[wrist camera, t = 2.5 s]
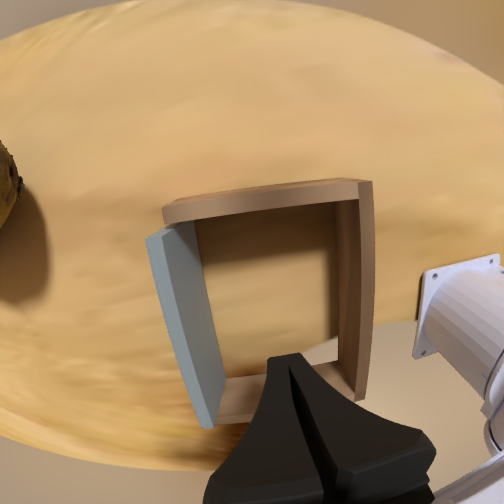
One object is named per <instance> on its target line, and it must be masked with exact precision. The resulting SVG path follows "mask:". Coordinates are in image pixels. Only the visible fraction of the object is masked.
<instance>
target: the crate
mask: <svg viewBox="0 0 504 504" xmlns="http://www.w3.org/2000/svg"><path fill="white" fill-rule="evenodd" d="M332 201H334V214H335V229H336V246H337V269H338V360H337V361H332V362H328V363H323V364H318V365H313V366H312V367H313V368H314V370H315V371H316V372H317V373H318V374H319V375H320V376H321V377H323V378H324V379H325V380H326V381H327V382H328V383H329V384H330V385H331V386H332V387H334V388H335V389H336V390H337V391H338V392H340V393H341V394H342V395H344V396H345V397H346V398H348V399H349V400H351V401H352V402H356V401H360V400H363V399H365V394H366V387H367V379H368V371H369V363H370V352H371V342H372V330H373V315H374V294H375V223H374V201H373V186H372V181H368V180H359V179H350V178H335V179H324V180H313V181H303V182H294V183H285V184H276V185H268V186H260V187H252V188H245V189H238V190H231V191H224V192H217V193H211V194H204V195H198V196H192V197H186V198H180V199H177V200H175V201H173V202H171V203H169V204H167V205H165V206H164V207H162V213H163V218H164V224H171V223H177V222H183V221H190V220H196V219H202V218H209V217H216V216H222V215H229V214H236V213H243V212H250V211H258V210H265V209H273V208H281V207H289V206H297V205H305V204H314V203H323V202H332ZM266 375H267V373H266V374H259V375H252V376H244V377H236V378H226V381H225V385H224V389H223V394H222V398H221V402H220V406H219V410H218V414H217V419H216V424H217V425H223V424H234V423H244V422H251V420H252V418H253V416H254V414H255V411H256V409H257V407H258V404H259V401H260V398H261V395H262V392H263V388H264V384H265V380H266Z"/></svg>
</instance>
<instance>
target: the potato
mask: <svg viewBox="0 0 504 504" xmlns="http://www.w3.org/2000/svg"><path fill="white" fill-rule="evenodd" d="M24 186H25V185H24V184H23V178H22V177H21V176H20V177H19V176H18V171H17V167H16V165H15V162H14V160H13V155H10V154H9V152H8V151H7V148H5V147H4V145H3V144H2V143H1V140H0V229H1V227H2V226H3V224H4V223H5V221H6V219H7V217H8V215H9V213H10V211H11V209H12V207H13V205H14V202H15V200H16V201H17V202H18V198H19V199H20V198H21V195H22V193H23V190H24Z"/></svg>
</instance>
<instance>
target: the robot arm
mask: <svg viewBox="0 0 504 504" xmlns="http://www.w3.org/2000/svg"><path fill="white" fill-rule="evenodd" d="M434 274H435V275H434ZM433 275H434V277H433ZM432 277H433V278H432ZM436 352H439V353H440V354H441V355H442V356H443V357H444V358H445V359H446V360H447V361H448V362H449V363H450V364H451V365H452V366H453V367H454V368H455V369H456V370H457V371H458V372H459V373H460V374H461V375H462V377H463V378H464V379H465V380H466V381H467V382H468V383H469V384H470V385H471V386H472V387H473V388H474V390H475V391H476V392H477V393H478V394H479V395H480V396H481V397H482V398H483V399H484V401H485V402H484V404H483V406H482V408H481V412H482V413H483V414H484V415H485V417H486V418H487V421H486V423H485V426H484V439H485V443H486V446H487V448H488V450H489V452H490V454H491V456H492V458H491V459H489V460H488V461H486V462H485V463H484V464H482V465H481V466H479V467H477V468H476V469H474V470H473V471H472V472H470V473H468V474H466V475H465V476H463V477H461V478H460V479H458V480H456V481H454V482H453V483H451V484H449V485H447V486H445V487H444V488H442V489H440V490H438V491H436V492H434V493H432V491H431V489H430V487H429V486H428V484H427V483H429V481H430V480H429V477H428V475H427V474H426V472H427V471H428V469H429V467H430V465H431V464H432V462H433V461H434V458H435V456H436V449H435V447H434V446H433V444H432V442H431V441H430V440H429V438H428V437H427V436H426V435H425V434H424V433H423V431H422V430H420V429H416V428H412V427H409V426H405V425H401V424H398V423H395V422H392V421H389V420H387V419H384V418H382V417H380V416H378V415H376V414H374V413H372V412H369V411H367V410H366V409H364V408H362V407H360V406H359V405H357V404H355V403H354V402H352V401H351V400H349V399H348V398H346V397H345V396H344V395H342V394H341V393H340V392H338V391H337V390H336V389H335V388H334V387H332V386H331V385H330V384H329V383H328V382H327V381H326V380H325V379H324V378H323V377H321V376H320V375H319V374H318V373H317V372H316V371H315V370H314V368H313V367H312V366H311V365H310V364H309V363H308V362H307V361H306V359H305V358H304V357H303V355H302V354H300V353H294V354H288V355H282V356H276V357H270V358H269V359H268V360H267V375H266V380H265V384H264V388H263V392H262V395H261V398H260V401H259V404H258V407H257V409H256V411H255V414H254V416H253V418H252V420H251V422H250V424H249V426H248V428H247V430H246V431H245V433H244V435H243V436H242V438H241V440H240V441H239V443H238V444H237V445H236V447H235V448H234V450H233V451H232V452H231V454H230V455H229V456H228V458H227V459H226V460H225V461H224V462H223V463H222V464H221V465H220V467H219V468H218V469H217V470H216V471H215V472H214V473H213V474H212V475H211V476H210V478H209V481H208V484H207V487H206V490H205V493H204V497H203V504H504V267H502V266H500V255H499V254H496V253H495V254H492V255H488V256H484V257H480V258H476V259H472V260H468V261H464V262H460V263H456V264H452V265H448V266H443V267H439V268H435V269H430V270H427V271H426V272H425V273H424V274H423V278H422V289H421V299H420V308H419V316H418V323H417V330H416V337H415V342H414V348H413V353H412V356H413V357H414V359H419V358H422V357H425V356H427V355H430V354H433V353H436Z"/></svg>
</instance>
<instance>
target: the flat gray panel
mask: <svg viewBox="0 0 504 504" xmlns="http://www.w3.org/2000/svg"><path fill="white" fill-rule="evenodd" d="M145 241H146V246H147V251H148V255H149V260H150V264H151V268H152V273H153V277H154V281H155V285H156V289H157V293H158V297H159V300H160V304H161V308H162V311H163V315H164V319H165V322H166V326H167V329H168V333H169V336H170V339H171V342H172V346H173V349H174V352H175V355H176V358H177V362H178V365H179V368H180V371H181V374H182V377H183V380H184V382H185V385H186V388H187V391H188V394H189V397H190V399H191V402H192V405H193V407H194V410H195V413H196V415H197V418H198V420H199V423H200V426H201V428H212V429H214V427H215V423H216V419H217V414H218V410H219V406H220V402H221V398H222V394H223V389H224V385H225V381H226V375H225V371H224V367H223V363H222V358H221V354H220V350H219V345H218V341H217V337H216V332H215V327H214V323H213V318H212V314H211V309H210V304H209V299H208V294H207V289H206V284H205V279H204V274H203V269H202V264H201V258H200V253H199V247H198V242H197V236H196V230H195V225H194V220H190V221H183V222H177V223H171V224H169V225H167V226H165V227H164V228H162V229H160V230H159V231H157V232H155V233H154V234H152V235H150V236H149V237H147V238H146V239H145Z"/></svg>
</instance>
